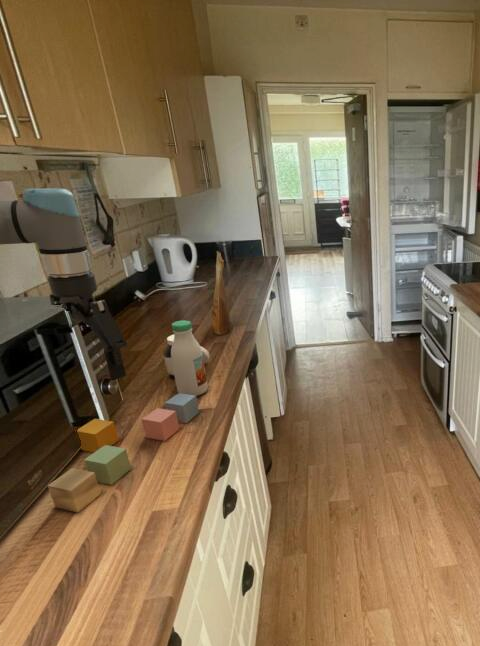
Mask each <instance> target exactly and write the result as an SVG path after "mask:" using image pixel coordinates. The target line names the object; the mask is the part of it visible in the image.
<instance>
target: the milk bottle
mask: <svg viewBox="0 0 480 646" xmlns="http://www.w3.org/2000/svg"><path fill="white" fill-rule="evenodd" d="M192 325H193V324H192V322H191V321H190V320H183V319H182V320H177V321H174V322H172V323H171V329H172V333H173V334H174V341H173V345H172V348H171V359H172V365H173V370H174V376H175V377H174V380H175V385H176V391H177V394H178V393H182V394H188V395H195V396H196V397H198V396H200V395H201V396H202V395H203V394H205V393H206V392H207V390H208V388H209V386H208V379H207V372H206V366H205V363H204V360H203V355H202V350H201V347H202V346H201V345H200V344H199V342H198V341H197V339H196V338H195V336H194V334H193V332H192V331H193V327H192ZM200 346H201V347H200Z"/></svg>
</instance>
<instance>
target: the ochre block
mask: <svg viewBox="0 0 480 646" xmlns="http://www.w3.org/2000/svg"><path fill="white" fill-rule="evenodd" d="M77 429H78V430H77ZM77 429H76V430H77V433H78V435H79V438H80V440H81V446H80V445H79V446H80V450H81V451H85V452H90V453H94V452H96V451H97V450H99V449H100V448H101V447H103V446H104V445H108V446H114V445H115V444H117V442H119V440H120V439H119V436H118V432H117V429H116V425H115V422H114V421H111V420H106V419H100V418H99V419H98V418H93V419H92V420H90V421H88V422H87V423H85V424H83V426H81V427H79V428H77Z"/></svg>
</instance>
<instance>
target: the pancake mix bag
mask: <svg viewBox="0 0 480 646" xmlns="http://www.w3.org/2000/svg"><path fill="white" fill-rule="evenodd" d="M215 253H216V262H215V283H214V293H213V302H212V326H213V331H214V334H215V335H219V336H223V335H225V334H227V333H228V332H229V328H230V308H229V307H230V306H229V300H228V293H227V289H226V287H225V280H224V277H223V271H224V268H225V262H224V259H223V258H222V253H221V252H220V251H218V250H216V252H215Z"/></svg>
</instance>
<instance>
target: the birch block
mask: <svg viewBox="0 0 480 646" xmlns="http://www.w3.org/2000/svg"><path fill="white" fill-rule="evenodd" d="M47 488H48V491H49V494H50V496H51V499H52V502H53V505H54V507H55V508H57V509H60V510H66V511H70V512H74V513H80V512H81V511H82V510H83V509H85V507H87V506H88V505H89V504H91V503H92V502H93V501H94V500H95V499H96V498H98V497H99V496H100V495H101V494H102V492H101V489H100V486H99V482H97V479H96V476H95V473H94V472H89V471H87V470H84V469H79V468H74V467H72V468H70V469H69V470H67V471H66V472H65V473H63V474H62V475H61V476H58V478H56V479H55V480H53V481H52V482H51V483H49V484H48V485H47Z"/></svg>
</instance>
